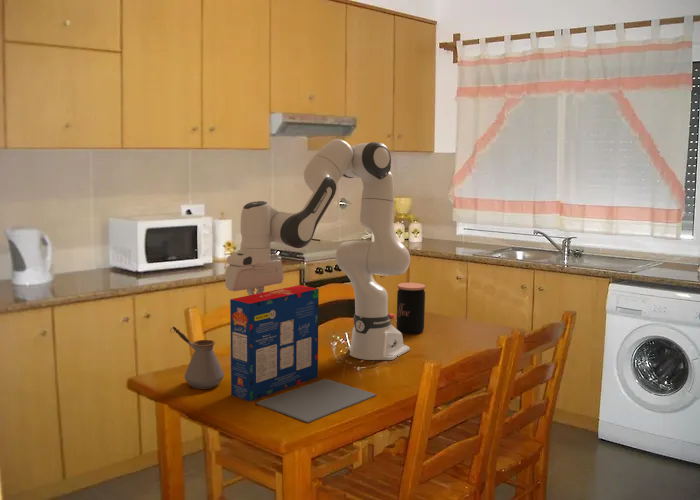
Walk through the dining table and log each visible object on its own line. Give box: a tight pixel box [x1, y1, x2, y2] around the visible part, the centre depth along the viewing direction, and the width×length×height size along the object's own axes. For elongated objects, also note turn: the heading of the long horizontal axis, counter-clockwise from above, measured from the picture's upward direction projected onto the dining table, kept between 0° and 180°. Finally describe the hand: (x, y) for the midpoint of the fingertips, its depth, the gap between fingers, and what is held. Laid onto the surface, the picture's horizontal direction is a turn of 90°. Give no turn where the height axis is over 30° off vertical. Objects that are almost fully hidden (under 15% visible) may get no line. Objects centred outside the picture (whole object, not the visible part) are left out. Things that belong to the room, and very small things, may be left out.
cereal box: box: [229, 284, 320, 402], centre depth 211 cm, size 28×8×28 cm, turn 140°
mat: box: [255, 378, 377, 424], centre depth 202 cm, size 28×20×1 cm
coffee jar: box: [395, 282, 426, 335], centre depth 277 cm, size 11×11×18 cm
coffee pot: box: [169, 326, 225, 390], centre depth 215 cm, size 21×12×15 cm, turn 49°
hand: (255, 301), depth 215 cm, fingers closed
